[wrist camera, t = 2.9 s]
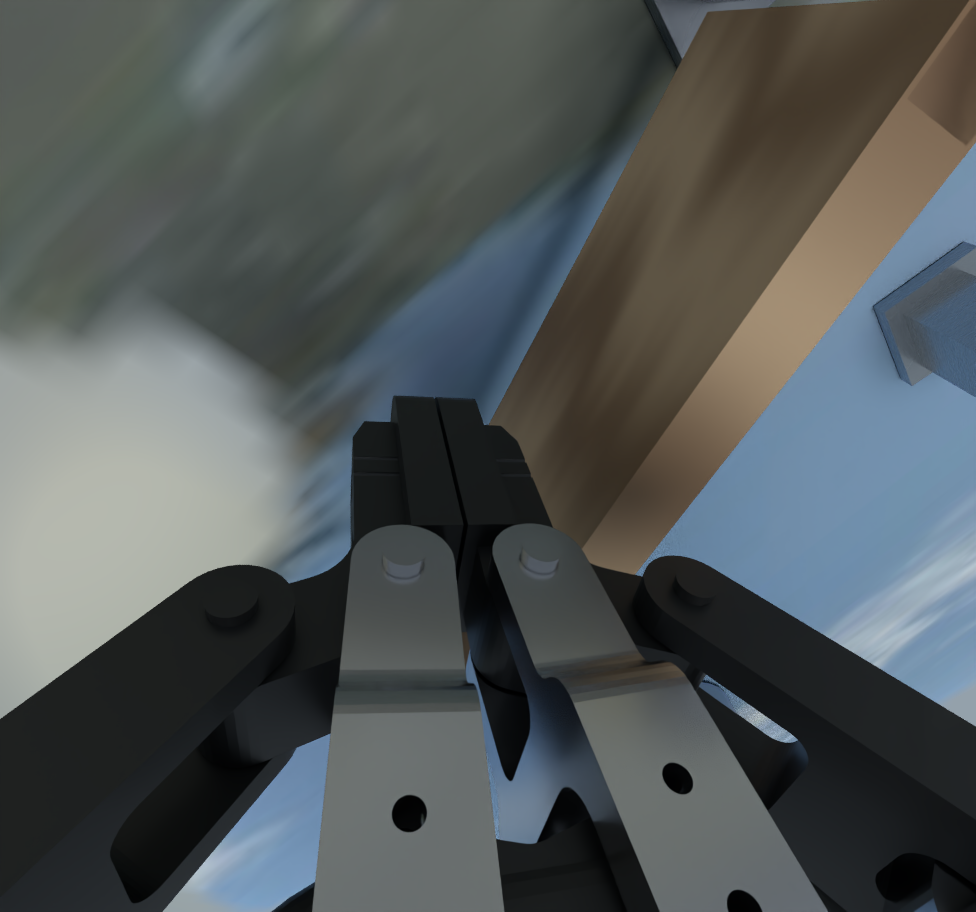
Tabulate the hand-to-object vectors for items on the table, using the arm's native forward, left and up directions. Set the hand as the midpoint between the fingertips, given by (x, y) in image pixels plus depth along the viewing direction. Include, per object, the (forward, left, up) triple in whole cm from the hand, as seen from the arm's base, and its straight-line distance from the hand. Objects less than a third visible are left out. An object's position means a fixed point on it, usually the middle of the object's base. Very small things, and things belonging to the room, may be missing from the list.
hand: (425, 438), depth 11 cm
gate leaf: (-4, -3, -9) cm, 10 cm away
